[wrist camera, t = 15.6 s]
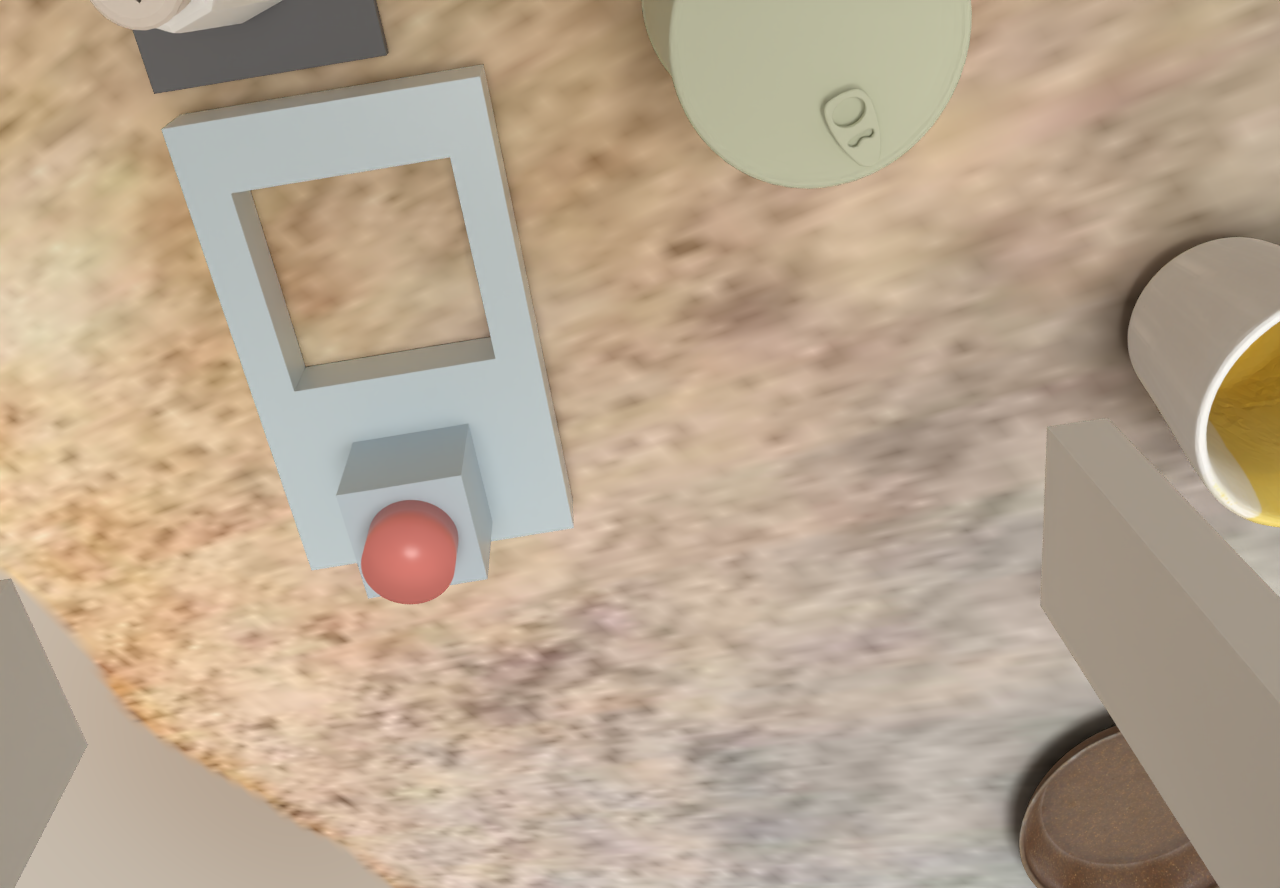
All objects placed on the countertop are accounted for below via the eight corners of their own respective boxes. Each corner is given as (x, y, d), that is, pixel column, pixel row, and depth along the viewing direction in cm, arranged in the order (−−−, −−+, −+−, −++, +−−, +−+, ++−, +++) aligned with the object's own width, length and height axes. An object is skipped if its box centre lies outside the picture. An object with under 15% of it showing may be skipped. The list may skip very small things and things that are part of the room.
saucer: (980, 882, 69) (996, 920, 67) (1036, 686, 62) (1055, 720, 60) (1217, 881, 71) (1240, 918, 68) (1297, 689, 64) (1326, 722, 61)
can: (704, 153, 48) (748, 246, 37) (597, -66, 43) (612, -30, 33) (913, 42, 46) (1021, 107, 35) (823, -194, 42) (914, -200, 31)
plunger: (358, 507, 46) (350, 534, 44) (447, 493, 46) (443, 519, 44) (380, 581, 48) (374, 610, 46) (467, 568, 48) (463, 596, 46)
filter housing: (180, 114, 45) (121, 159, 39) (483, 64, 45) (472, 101, 39) (321, 540, 55) (292, 630, 49) (572, 499, 55) (575, 585, 49)
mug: (1048, 284, 51) (1156, 385, 42) (1266, 150, 49) (1432, 226, 40) (1163, 499, 57) (1281, 630, 48) (1363, 388, 55) (1528, 502, 46)
